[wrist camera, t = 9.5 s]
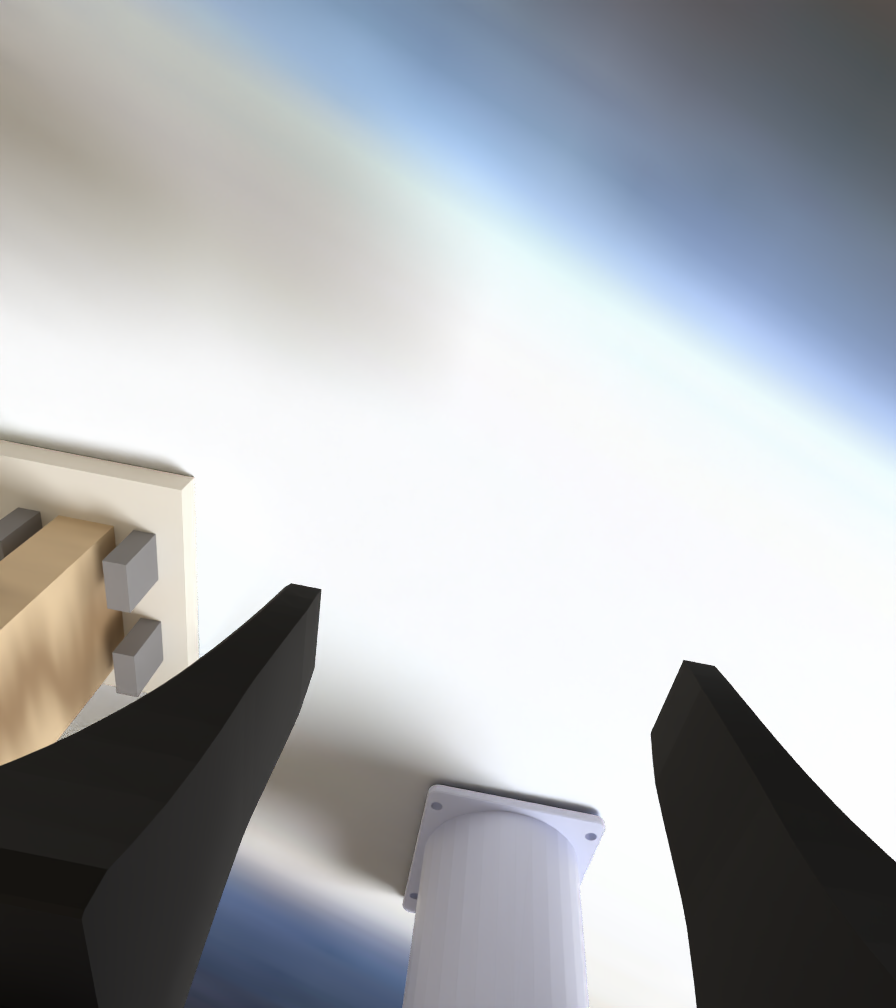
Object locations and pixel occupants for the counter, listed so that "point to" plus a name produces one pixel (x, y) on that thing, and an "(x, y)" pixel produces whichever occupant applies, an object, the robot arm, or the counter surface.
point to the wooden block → (53, 632)
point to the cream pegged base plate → (118, 549)
